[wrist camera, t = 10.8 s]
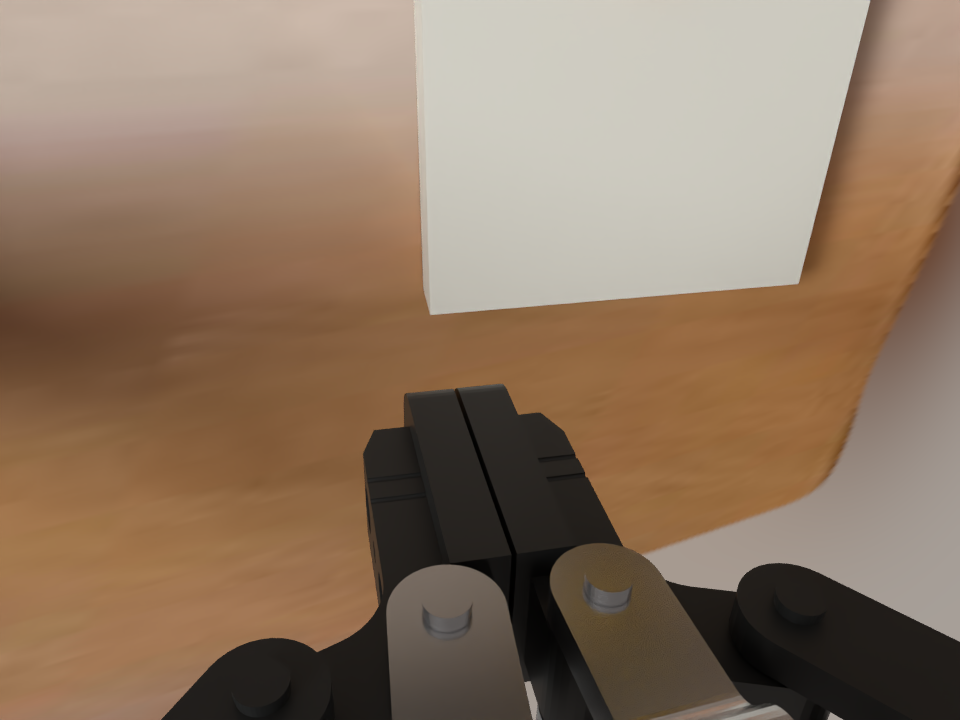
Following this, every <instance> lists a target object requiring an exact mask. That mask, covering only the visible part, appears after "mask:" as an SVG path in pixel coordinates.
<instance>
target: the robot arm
mask: <svg viewBox="0 0 960 720" xmlns="http://www.w3.org/2000/svg"><path fill="white" fill-rule="evenodd" d="M363 459H364V476H365V492H366V509H367V525H368V536H369V542H370V549H371V556H372V563H373V570H374V577H375V583H376V590H377V597H378V604H379V607H378V609H377V610H376V612H375V614H374V615H373V617H372V618H371V619H370V620H369V622H368V623H367V624H366V625H364V626H363V627H362V628H361V629H360V630H359V631H357V632H356V633H355V634H353V635H352V636H350V637H348V638H347V639H345V640H343V641H341V642H339V643H337V644H334V645H332V646H330V647H328V648H326V649H323V650H321V651H319V652H316V651H315V650H313V649H312V648H310V647H309V646H307V645H305V644H303V643H300V642H297V641H295V640H289V639H284V638H269V639H261V640H257V641H252V642H249V643H246V644H244V645H241V646H238V647H237V648H235V649H233V650H231V651H229V652H227V653H226V654H225V655H223V656H222V657H221V658H219V659H218V660H217V661H216V662H215V663H214V664H213V665H211V666H210V667H209V668H208V670H207V671H206V672H205V673H204V674H203V675H202V676H201V677H200V678H199V679H198V680H197V681H196V683H195V684H194V685H193V686H192V687H191V688H190V689H189V690H188V691H187V692H186V693H185V695H184V696H183V697H182V698H181V699H180V700H179V701H178V702H177V703H176V704H175V705H174V706H173V708H172V709H171V710H170V711H169V712H168V713H167V714H166V715H165V716H164V717H163V718H162V719H161V720H533V719H532V715H531V711H530V706H529V701H528V697H527V692H526V688H525V683H524V682H527V681H531V684H532V687H533V690H534V693H535V697H536V700H537V703H538V705H537V715H536V720H827V719H828V717H829V714H830V712H831V713H833V714H835V715H837V716H838V717H840V718H842V719H843V720H960V642H959V641H957V640H955V639H953V638H951V637H949V636H946V635H945V634H942V633H940V632H938V631H936V630H934V629H932V628H930V627H928V626H926V625H924V624H922V623H920V622H918V621H916V620H914V619H912V618H910V617H907V616H906V615H904V614H902V613H900V612H897V611H895V610H893V609H891V608H889V607H887V606H885V605H883V604H881V603H879V602H877V601H875V600H873V599H871V598H869V597H867V596H865V595H863V594H861V593H859V592H857V591H855V590H853V589H851V588H849V587H846V586H844V585H842V584H840V583H838V582H836V581H834V580H832V579H830V578H828V577H826V576H824V575H822V574H820V573H818V572H815V571H813V570H811V569H808V568H804V567H801V566H797V565H792V564H782V563H775V564H766V565H761V566H758V567H756V568H753V569H752V570H750V571H749V572H747V573H746V574H745V575H744V577H743V578H742V579H741V581H740V582H739V585H738V589H737V592H733V591H724V590H715V589H707V588H698V587H690V586H684V585H679V584H676V583H672V582H669V581H667V580H665V579H664V578H663V576H662V575H661V573H660V572H659V571H658V569H657V568H656V567H655V566H654V565H653V564H652V563H651V562H650V561H649V560H648V559H646V558H645V557H643V556H642V555H640V554H639V553H637V552H635V551H633V550H630V549H628V548H625V547H623V545H622V543H621V541H620V539H619V537H618V536H617V534H616V532H615V530H614V528H613V526H612V524H611V522H610V520H609V518H608V516H607V514H606V512H605V510H604V508H603V506H602V505H601V503H600V501H599V499H598V497H597V495H596V493H595V491H594V489H593V487H592V485H591V483H590V481H589V479H588V477H585V472H584V470H583V468H582V466H581V464H580V462H579V460H578V458H576V457H575V452H574V450H573V448H572V446H571V444H570V443H569V441H568V439H567V437H566V435H565V433H564V431H563V430H562V429H560V428H559V427H558V426H557V425H555V424H554V423H553V422H552V421H550V420H549V419H548V418H546V417H545V416H544V415H543V414H541V413H531V414H522V415H518V414H517V411H516V409H515V407H514V405H513V403H512V400H511V398H510V396H509V394H508V391H507V389H506V387H505V386H504V385H503V384H495V385H485V386H475V387H465V388H456V389H455V391H454V390H453V389H446V390H436V391H426V392H416V393H406V394H405V395H404V427H401V428H392V429H382V430H374V432H373V434H372V436H371V438H370V440H369V442H368V444H367V446H366V449H365V451H364V453H363Z"/></svg>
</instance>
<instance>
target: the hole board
mask: <svg viewBox="0 0 960 720" xmlns="http://www.w3.org/2000/svg"><path fill="white" fill-rule="evenodd" d="M869 4H870V0H414V23H415V53H416V83H417V113H418V143H419V174H420V204H421V234H422V264H423V289H424V293H425V297H426V301H427V305H428V308H429V312H430V315H436V314H448V313H460V312H471V311H483V310H495V309H507V308H519V307H531V306H542V305H554V304H566V303H578V302H590V301H602V300H614V299H625V298H637V297H649V296H661V295H673V294H685V293H696V292H708V291H720V290H732V289H744V288H756V287H768V286H779V285H791V284H799V280H800V276H801V272H802V268H803V264H804V260H805V256H806V252H807V248H808V244H809V240H810V236H811V232H812V228H813V225H814V221H815V217H816V213H817V209H818V205H819V201H820V197H821V193H822V189H823V185H824V181H825V177H826V173H827V169H828V165H829V161H830V158H831V154H832V150H833V146H834V142H835V138H836V134H837V130H838V126H839V122H840V118H841V114H842V110H843V106H844V102H845V98H846V94H847V91H848V87H849V83H850V79H851V75H852V71H853V67H854V63H855V59H856V55H857V51H858V47H859V43H860V39H861V35H862V31H863V27H864V24H865V20H866V16H867V12H868V8H869Z"/></svg>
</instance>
